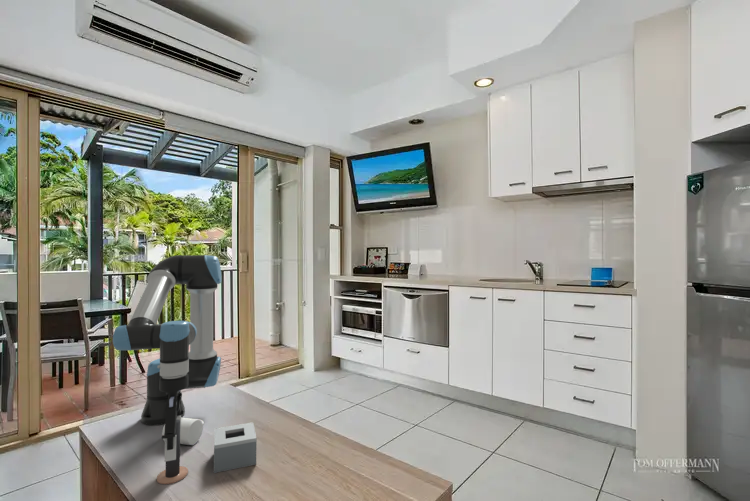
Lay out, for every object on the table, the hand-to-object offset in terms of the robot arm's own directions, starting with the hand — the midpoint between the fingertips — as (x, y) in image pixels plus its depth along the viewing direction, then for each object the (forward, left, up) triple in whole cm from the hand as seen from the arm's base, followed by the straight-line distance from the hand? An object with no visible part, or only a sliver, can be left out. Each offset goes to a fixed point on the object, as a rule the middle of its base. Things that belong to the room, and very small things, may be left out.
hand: (173, 448), depth 108 cm
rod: (0, 0, -7) cm, 7 cm away
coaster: (0, 0, -8) cm, 8 cm away
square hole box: (-3, +17, -8) cm, 19 cm away
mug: (-23, +2, -8) cm, 24 cm away
